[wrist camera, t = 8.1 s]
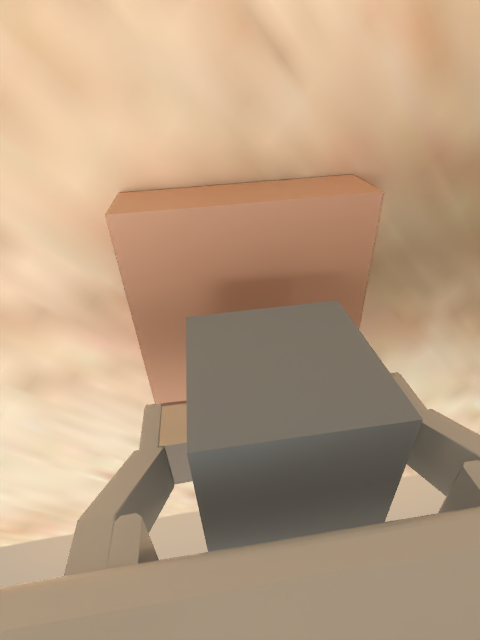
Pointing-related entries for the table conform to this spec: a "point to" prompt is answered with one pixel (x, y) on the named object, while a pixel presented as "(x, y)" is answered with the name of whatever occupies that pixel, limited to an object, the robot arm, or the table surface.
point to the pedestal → (238, 256)
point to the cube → (291, 424)
